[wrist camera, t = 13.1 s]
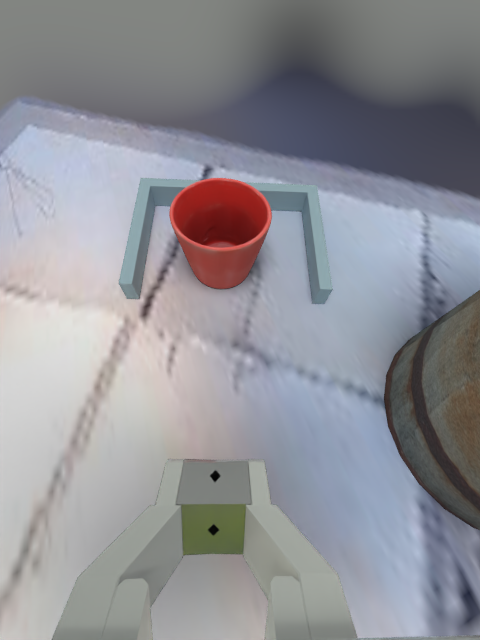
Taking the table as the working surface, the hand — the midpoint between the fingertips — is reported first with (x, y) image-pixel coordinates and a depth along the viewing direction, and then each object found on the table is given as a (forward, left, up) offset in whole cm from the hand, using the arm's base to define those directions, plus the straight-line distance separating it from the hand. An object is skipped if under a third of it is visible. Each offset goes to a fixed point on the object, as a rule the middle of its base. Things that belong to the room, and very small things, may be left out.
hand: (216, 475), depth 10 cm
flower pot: (-1, +25, -23) cm, 34 cm away
